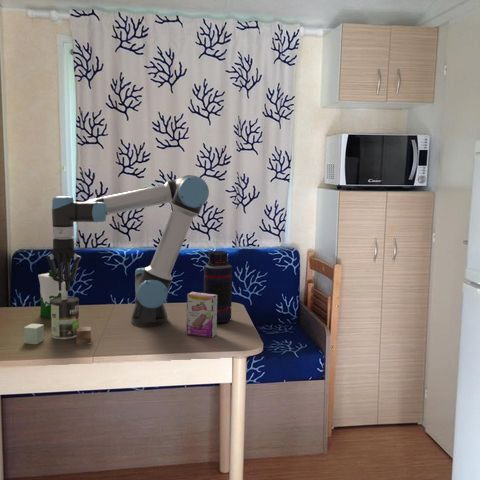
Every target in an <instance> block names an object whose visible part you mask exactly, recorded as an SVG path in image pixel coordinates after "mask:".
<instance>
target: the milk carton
mask: <svg viewBox="0 0 480 480" xmlns="http://www.w3.org/2000/svg"><path fill="white" fill-rule="evenodd" d="M56 270H57V273H58V269H56ZM37 277H38V281H39V286H40V287H39V292H40V294H39V295H40V314H39V315H40V316H42V317H44V318H47V319H51V299H54V298H57V297H61V291H59V283H58V281H54V280H53V276H52V272H51V269H50V270H48V272H46V273H41V274H38V275H37ZM63 280H65V273H63Z"/></svg>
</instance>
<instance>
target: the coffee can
mask: <svg viewBox="0 0 480 480" xmlns="http://www.w3.org/2000/svg"><path fill="white" fill-rule="evenodd" d="M79 301H80V299H79V297H77V296H68V298H67V299H66V300H62V297H57V298H54V299H51V318H50V319H51V338H53V339H56V340H70V339H75V338H77V333H76V331H77V327H80V308H79V307H80V302H79Z"/></svg>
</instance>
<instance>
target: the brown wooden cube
mask: <svg viewBox="0 0 480 480" xmlns="http://www.w3.org/2000/svg"><path fill="white" fill-rule="evenodd" d="M76 333H77V337H76V345H86V344H87V345H89V344H88V343H91V344H92V327H91V326H79V327H77V331H76Z"/></svg>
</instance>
